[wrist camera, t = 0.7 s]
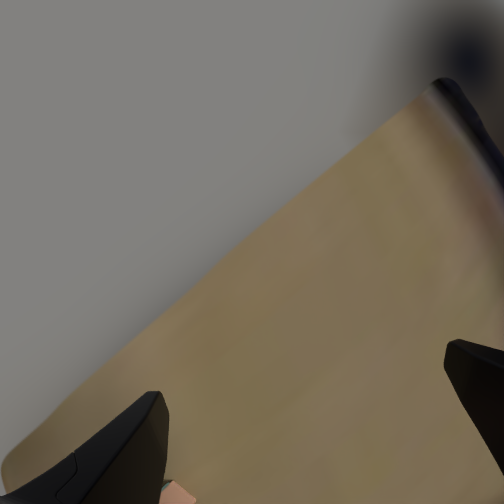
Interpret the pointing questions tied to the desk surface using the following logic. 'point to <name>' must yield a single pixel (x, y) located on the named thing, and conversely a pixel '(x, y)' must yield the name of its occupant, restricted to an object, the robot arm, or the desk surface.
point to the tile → (175, 495)
